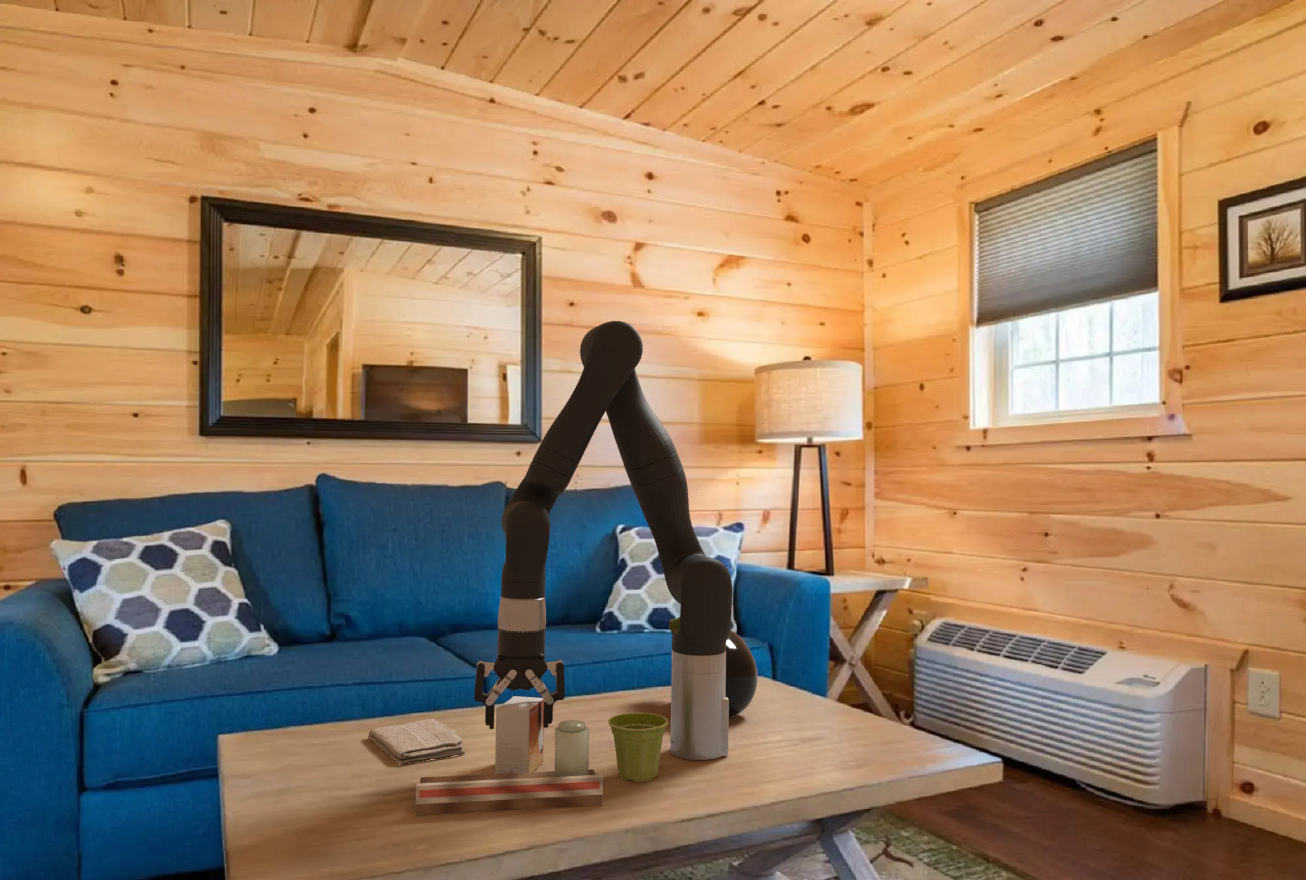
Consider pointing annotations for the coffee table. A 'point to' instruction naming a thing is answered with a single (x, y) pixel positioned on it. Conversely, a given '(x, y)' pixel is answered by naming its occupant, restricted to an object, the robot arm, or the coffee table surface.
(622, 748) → the plant pot
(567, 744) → the sage jar
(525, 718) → the small box
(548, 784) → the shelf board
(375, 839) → the coffee table surface
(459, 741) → the washcloth
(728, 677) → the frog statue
